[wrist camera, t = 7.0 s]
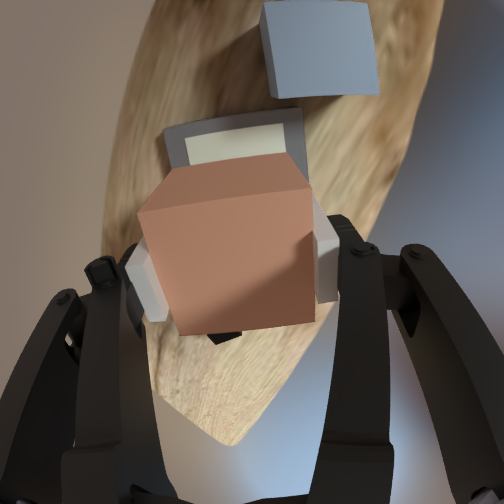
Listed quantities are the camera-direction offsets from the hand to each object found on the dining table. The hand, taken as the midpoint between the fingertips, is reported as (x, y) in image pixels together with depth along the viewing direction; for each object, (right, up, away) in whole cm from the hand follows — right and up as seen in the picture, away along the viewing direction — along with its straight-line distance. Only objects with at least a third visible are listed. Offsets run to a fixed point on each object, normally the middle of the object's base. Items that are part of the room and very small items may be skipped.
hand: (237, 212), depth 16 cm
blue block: (+5, +12, +2) cm, 13 cm away
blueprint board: (0, +4, +7) cm, 8 cm away
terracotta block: (0, 0, 0) cm, 0 cm away
